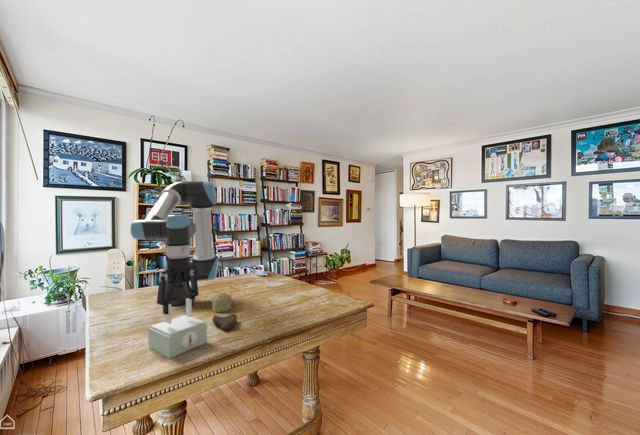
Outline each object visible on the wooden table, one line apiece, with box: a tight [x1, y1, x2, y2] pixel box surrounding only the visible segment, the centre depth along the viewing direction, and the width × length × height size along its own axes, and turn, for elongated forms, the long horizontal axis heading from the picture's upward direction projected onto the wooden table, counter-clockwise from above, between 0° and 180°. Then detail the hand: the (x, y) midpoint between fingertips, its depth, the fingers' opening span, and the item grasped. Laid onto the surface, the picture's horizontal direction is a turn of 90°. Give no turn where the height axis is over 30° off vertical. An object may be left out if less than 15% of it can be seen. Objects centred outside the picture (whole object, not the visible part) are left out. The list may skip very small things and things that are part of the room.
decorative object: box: [211, 292, 233, 313], centre depth 139 cm, size 9×10×10 cm
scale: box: [148, 314, 208, 359], centre depth 101 cm, size 15×14×8 cm
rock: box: [211, 313, 238, 331], centre depth 118 cm, size 11×10×4 cm
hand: (178, 319), depth 101 cm, fingers open, 7 cm apart
